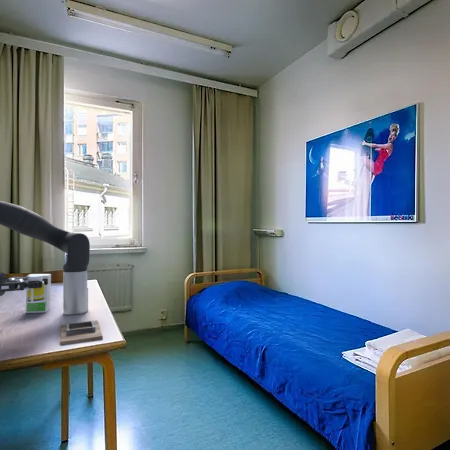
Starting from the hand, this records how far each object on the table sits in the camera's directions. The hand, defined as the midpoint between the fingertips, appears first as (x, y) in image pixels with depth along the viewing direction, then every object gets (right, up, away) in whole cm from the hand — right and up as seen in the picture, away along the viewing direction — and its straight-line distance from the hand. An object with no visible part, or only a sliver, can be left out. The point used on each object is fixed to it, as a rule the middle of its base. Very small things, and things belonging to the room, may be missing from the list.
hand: (44, 282), depth 108 cm
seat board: (+10, -17, +3) cm, 20 cm away
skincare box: (-21, -18, +33) cm, 43 cm away
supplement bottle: (-3, -6, -1) cm, 7 cm away
